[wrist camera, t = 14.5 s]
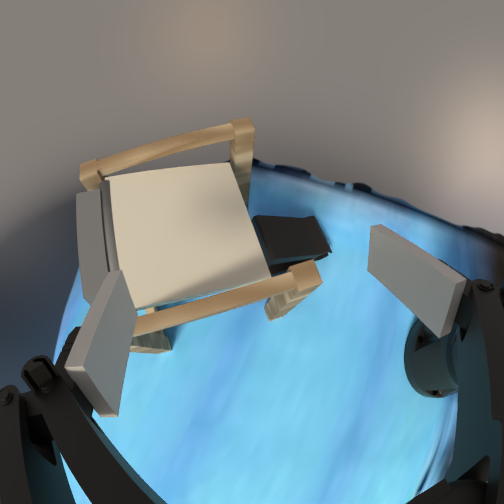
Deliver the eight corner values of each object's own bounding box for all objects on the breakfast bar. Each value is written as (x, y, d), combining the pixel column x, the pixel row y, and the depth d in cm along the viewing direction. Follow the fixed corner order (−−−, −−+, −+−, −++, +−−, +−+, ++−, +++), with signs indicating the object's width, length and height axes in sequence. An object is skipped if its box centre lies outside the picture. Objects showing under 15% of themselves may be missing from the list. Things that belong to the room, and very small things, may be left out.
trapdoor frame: (282, 316, 39) (322, 282, 21) (158, 353, 36) (97, 348, 18) (242, 206, 45) (248, 117, 27) (132, 238, 42) (80, 164, 24)
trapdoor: (262, 285, 27) (272, 275, 25) (94, 323, 21) (86, 316, 19) (224, 176, 31) (230, 160, 29) (81, 197, 25) (76, 181, 23)
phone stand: (234, 248, 42) (300, 233, 47) (249, 285, 40) (315, 266, 45) (253, 215, 34) (327, 203, 40) (273, 259, 33) (347, 240, 38)
